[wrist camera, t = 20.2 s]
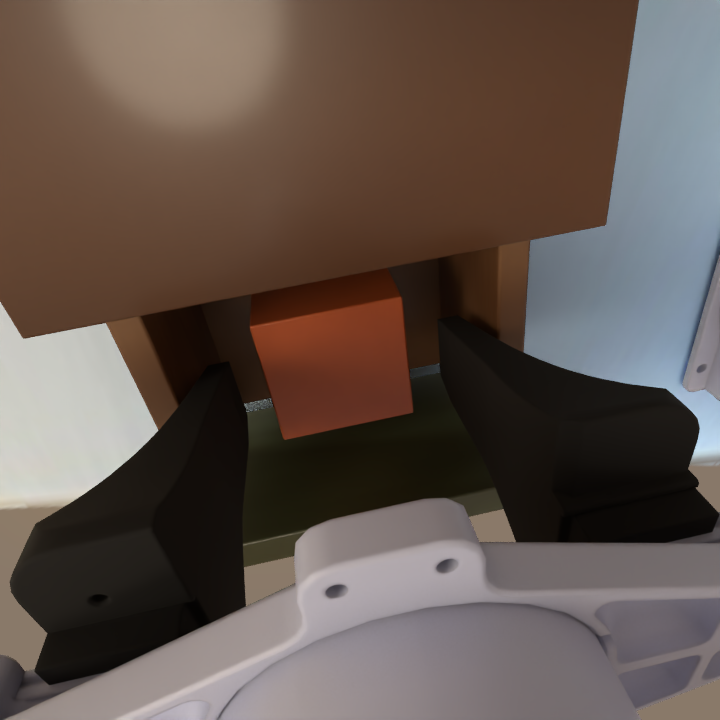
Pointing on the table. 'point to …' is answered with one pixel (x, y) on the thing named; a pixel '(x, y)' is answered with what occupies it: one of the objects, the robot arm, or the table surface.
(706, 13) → the table surface
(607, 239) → the table surface
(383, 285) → the block
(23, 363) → the table surface
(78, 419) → the table surface
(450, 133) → the cabinet
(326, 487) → the drawer
